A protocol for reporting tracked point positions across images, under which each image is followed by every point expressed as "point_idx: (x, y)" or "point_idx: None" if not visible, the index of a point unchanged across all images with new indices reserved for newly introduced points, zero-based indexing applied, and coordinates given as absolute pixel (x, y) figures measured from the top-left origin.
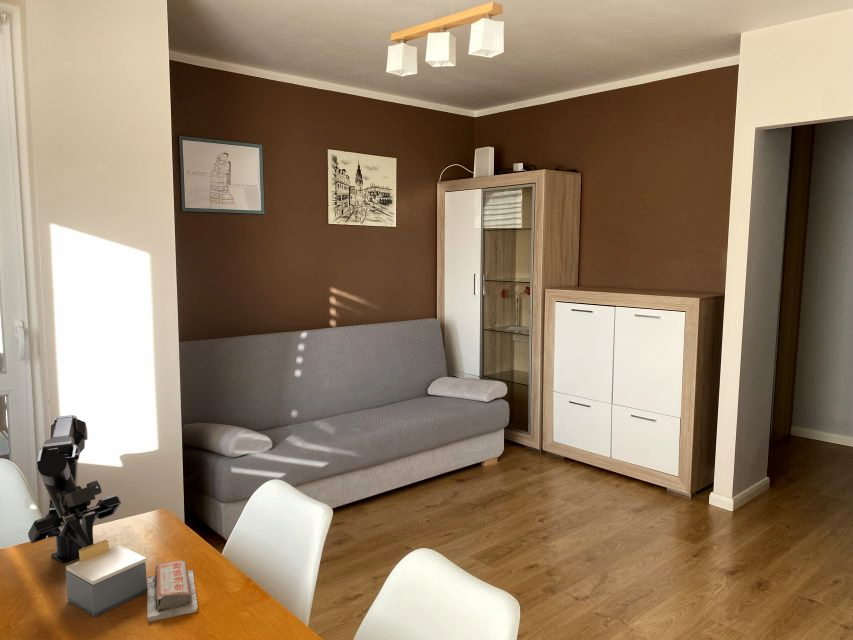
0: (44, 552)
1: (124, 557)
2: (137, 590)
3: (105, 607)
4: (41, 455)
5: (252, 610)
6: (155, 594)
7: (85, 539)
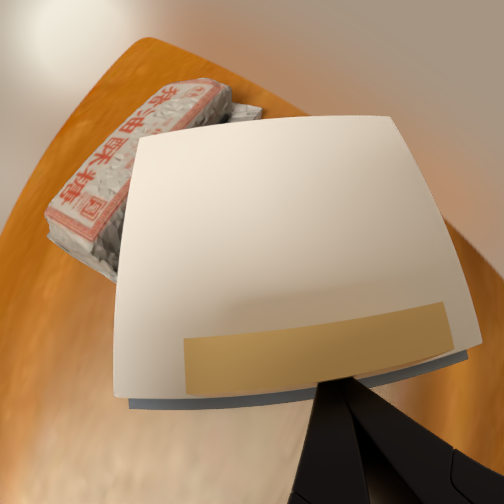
0: None
1: (190, 199)
2: None
3: None
4: None
5: (129, 72)
6: None
7: (399, 433)
